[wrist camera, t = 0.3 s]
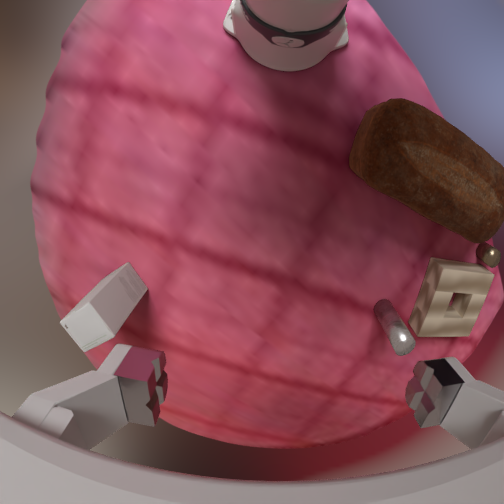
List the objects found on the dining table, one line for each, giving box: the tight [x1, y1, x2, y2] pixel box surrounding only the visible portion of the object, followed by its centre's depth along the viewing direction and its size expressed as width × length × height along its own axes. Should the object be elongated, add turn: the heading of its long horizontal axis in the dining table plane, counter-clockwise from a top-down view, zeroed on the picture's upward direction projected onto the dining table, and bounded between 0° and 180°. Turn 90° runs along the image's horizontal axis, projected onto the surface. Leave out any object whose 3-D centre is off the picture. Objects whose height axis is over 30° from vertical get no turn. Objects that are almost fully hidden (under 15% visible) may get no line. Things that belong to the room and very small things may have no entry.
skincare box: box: [60, 262, 148, 352], centre depth 46 cm, size 8×7×16 cm
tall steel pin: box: [374, 299, 415, 356], centre depth 47 cm, size 4×4×12 cm
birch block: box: [408, 257, 494, 337], centre depth 49 cm, size 14×14×5 cm
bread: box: [349, 98, 504, 243], centre depth 37 cm, size 14×28×12 cm, turn 71°
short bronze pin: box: [476, 242, 501, 268], centre depth 45 cm, size 4×4×4 cm
